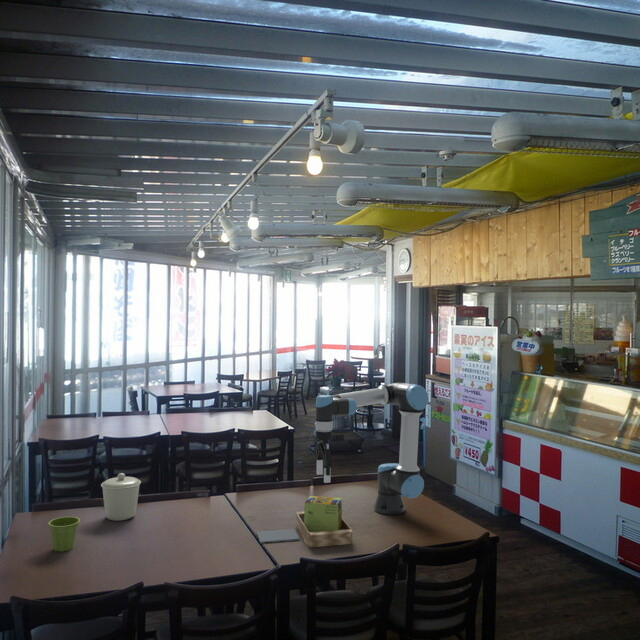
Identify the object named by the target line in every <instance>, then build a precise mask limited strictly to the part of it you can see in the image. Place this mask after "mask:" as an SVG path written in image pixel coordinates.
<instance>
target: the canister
mask: <svg viewBox="0 0 640 640" xmlns="http://www.w3.org/2000/svg"><path fill="white" fill-rule="evenodd" d="M141 484H142V481H141V480H140V479H138V478H137V477H133V476H126V474H125V473H123V472H119V473H118V474H117V476H115V477H112V478H111V477H110V478H108V479H106V480H104V481H103V482H102V483H101V484H100V487H101V488H102V495H103V497H102V498H103V505H104V513H105V517H106V518H107V519H108V520H110V521H114V522H115V521H118V522H120V521H126V520H129V519H133V517H134V516H135V515H136V512H137V506H138V501H139V500H138V499H139V491H140V485H141Z"/></svg>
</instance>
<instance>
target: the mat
mask: <svg viewBox="0 0 640 640" xmlns="http://www.w3.org/2000/svg"><path fill="white" fill-rule="evenodd" d="M256 535H258V536H257V538H259V539H258V541H259V543H260V544H266V543H265V542H273V543H283V542H282V541H286V542H293V541H294V542H296V541H297V542H298V541H300V537H299V535H298V533H297V531H296V530H295V528H289V529H288V528H287V529H275V530H264V531H263V530H262V531H256ZM280 541H281V542H280Z"/></svg>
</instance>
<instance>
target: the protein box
mask: <svg viewBox="0 0 640 640" xmlns="http://www.w3.org/2000/svg"><path fill="white" fill-rule="evenodd" d="M342 506H343V498H342V497H330V496H318V495H317V496H314V495H309V496H308V498H307V499H306V500H305V502H304V506H303V507H304V510H303V511H304V525H305V526H306V528H307V529H308V531H309V533H310V532H322V531H335V530H342V518H343V516H342V515H343V514H342V513H343V507H342Z"/></svg>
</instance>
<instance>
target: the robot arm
mask: <svg viewBox="0 0 640 640" xmlns="http://www.w3.org/2000/svg"><path fill="white" fill-rule="evenodd" d="M315 399H316V400H315V423H314V426H315V436H314V437H315V440H316V441H317V444H316V448H315V449H316V451H315V460H316V475H318V476H319V475H323V483H324V484H328V483H331V478H332V477H331V472H332V471H331V470H332V469H331V468H333V462H332V461H333V460H332V451H331V444H330V443H329V441H332V440H333V431H332V430H333V428H334V427H333V424H334V423H333V421H334V420H333V419H334V417H340V416H341V417H342V416H344V417H345V416H348V417H349V416H353V415H354V414H356V412H357V408H358V407H364V406H371V405H376V404H377V405H378V404H381V405H383V406H384V405H393V406H398V412H399V414H400V415H401V418H400V419H401V420H400V421H401V423H400V438H399V460H398V463H395V462H393V463H392V462H391V463H383V464H380V465H379V466H378V467H377V496H376V499H375V501H374V504H373V506H374V507H373V509H374V511H375V512H376V513H378V514H381V515H388V516H389V515H392V516H393V515H400V514H402V513H404V512H405V504H404V500H403V497H404V498H406V499H407V498H408V499H415V498H417V497H419V496H420V495H421V493H422V492H423V490H424V487H425V480H424V479H423V477H422V476H421V475H420V471H421V469H420V468H419V466H418V451H419V450H418V449H419V431H420V416H421V415H422V414H423V413H424V409H425V408H426V407H427V406H428V404H429V394H428V391H427V389H425V387H424V386H422V385H419V384H416V383H415V384H414V383H408V382H407V383H406V382H402V381H401V382H400V381H399V382H394V383H388V384H383V385H379V386H378V387H377V388H370V389H363V390H356V391H352V392H351V391H350V392H344V393H337V394H332V395H331V394H329V395H328V394H320V395H317V396H316V398H315Z"/></svg>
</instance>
